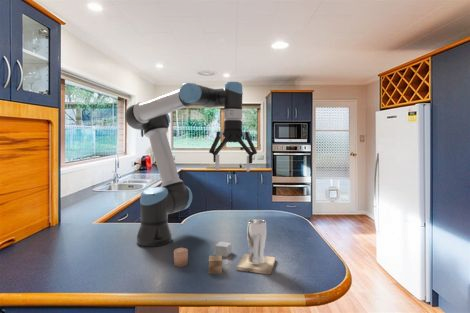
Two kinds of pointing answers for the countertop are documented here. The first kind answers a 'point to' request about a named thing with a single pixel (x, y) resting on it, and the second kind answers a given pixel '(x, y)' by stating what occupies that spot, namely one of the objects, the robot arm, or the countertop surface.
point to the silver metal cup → (256, 241)
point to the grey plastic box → (223, 248)
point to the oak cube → (215, 264)
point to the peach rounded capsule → (180, 257)
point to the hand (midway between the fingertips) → (232, 170)
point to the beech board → (263, 268)
